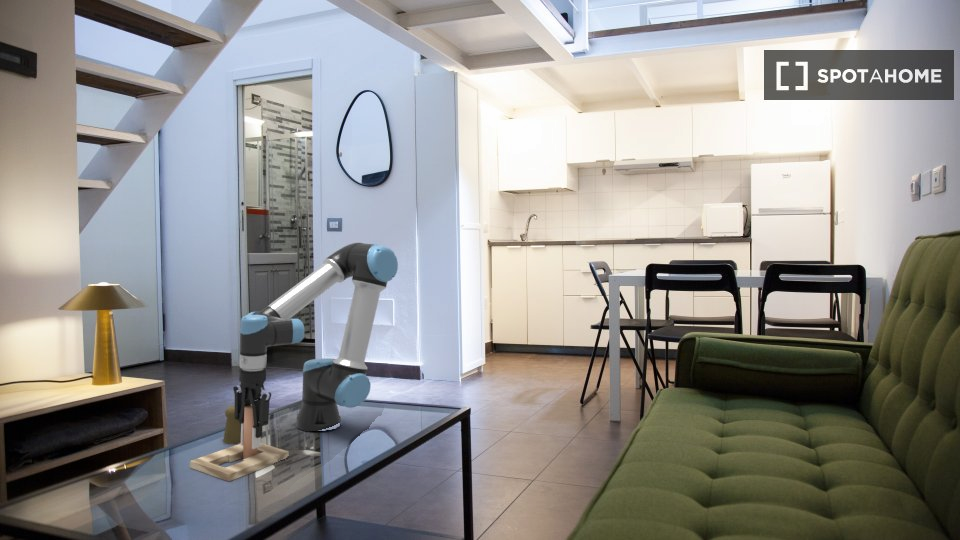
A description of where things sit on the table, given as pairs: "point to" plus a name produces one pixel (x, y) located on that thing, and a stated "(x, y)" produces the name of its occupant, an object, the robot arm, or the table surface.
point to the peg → (248, 432)
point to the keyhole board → (251, 464)
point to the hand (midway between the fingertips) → (250, 445)
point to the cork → (232, 427)
